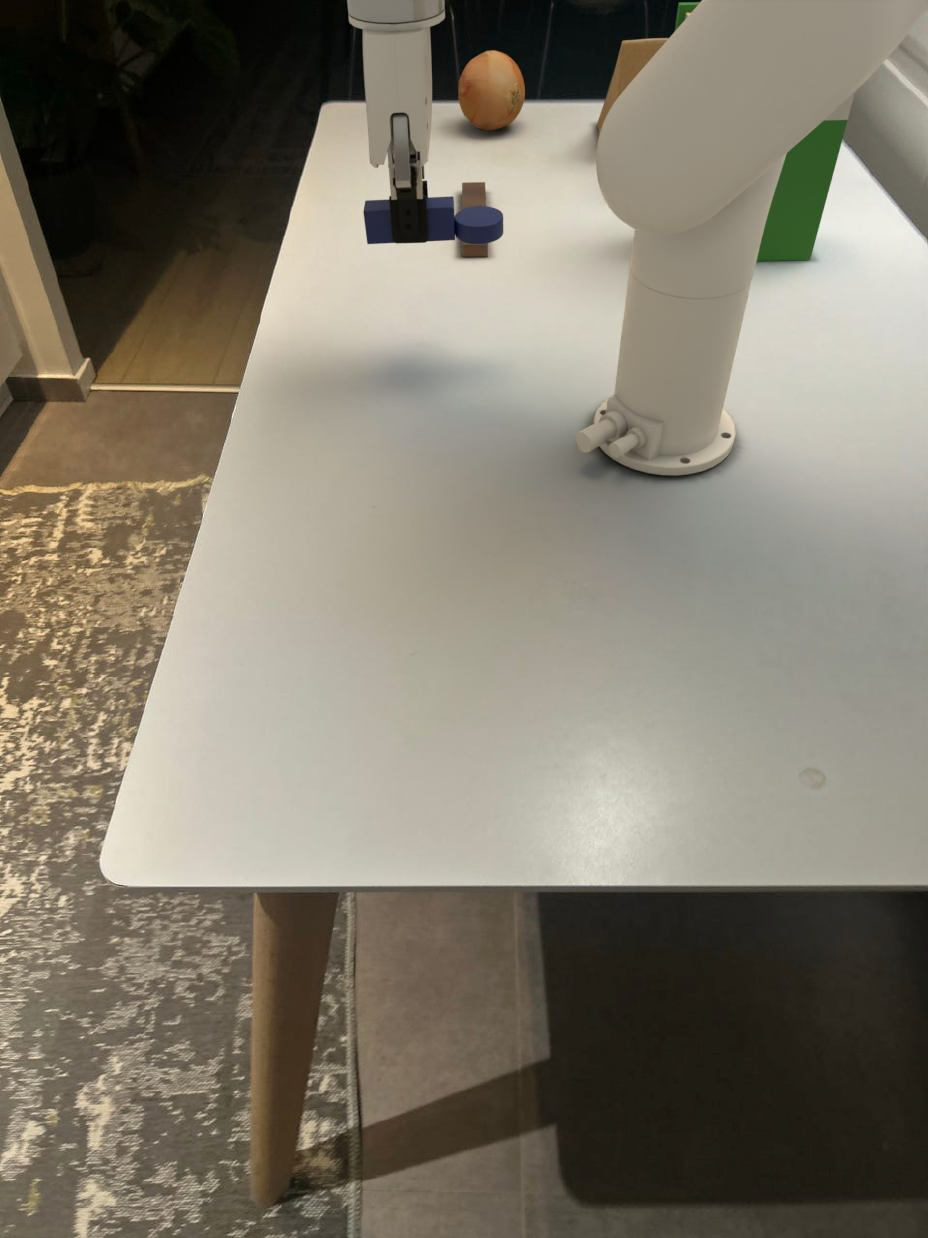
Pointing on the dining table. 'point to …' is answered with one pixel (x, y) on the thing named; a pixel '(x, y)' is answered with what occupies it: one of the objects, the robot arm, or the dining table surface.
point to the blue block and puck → (438, 222)
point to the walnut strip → (470, 198)
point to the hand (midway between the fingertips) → (411, 232)
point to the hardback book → (798, 183)
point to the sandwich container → (628, 69)
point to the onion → (491, 90)
